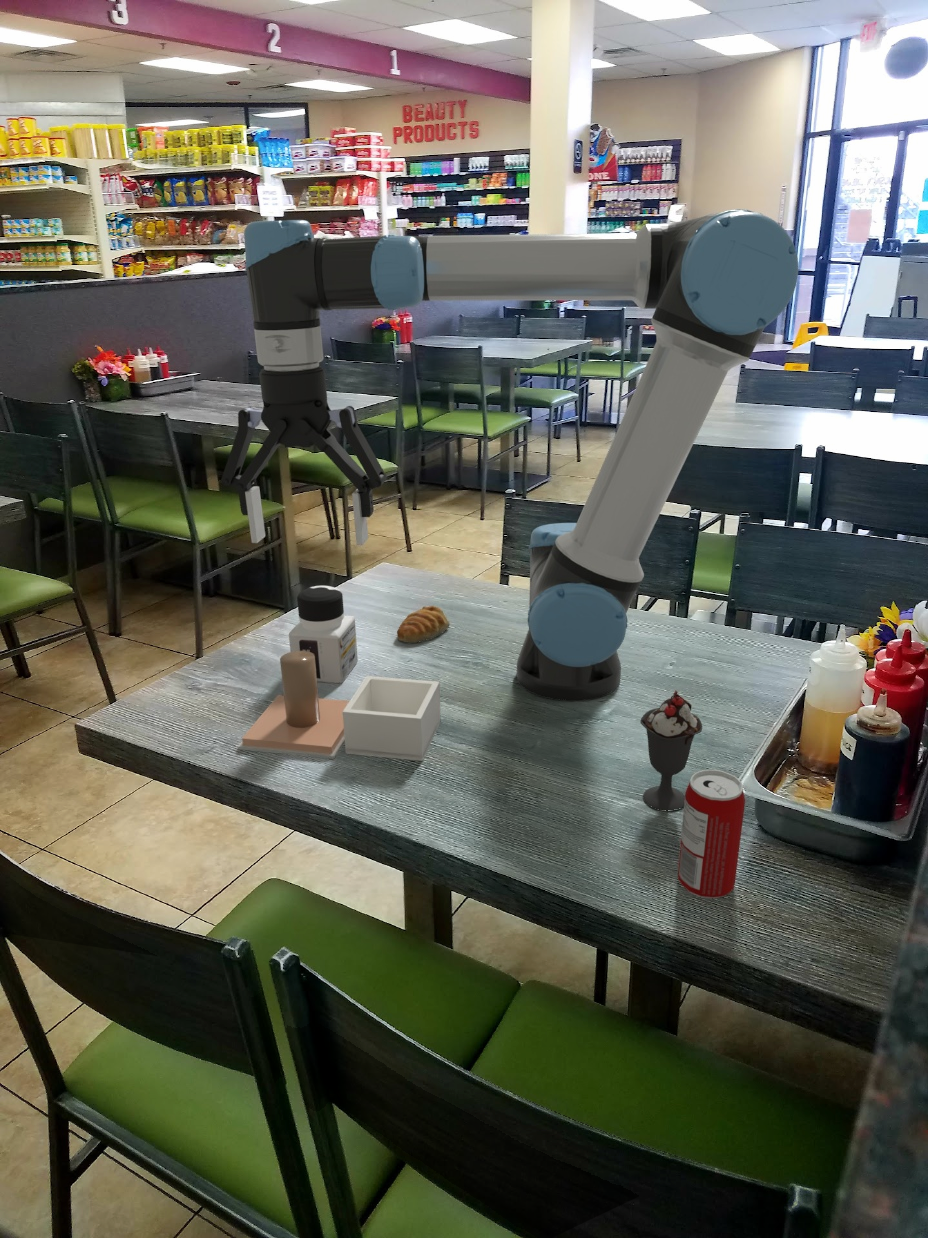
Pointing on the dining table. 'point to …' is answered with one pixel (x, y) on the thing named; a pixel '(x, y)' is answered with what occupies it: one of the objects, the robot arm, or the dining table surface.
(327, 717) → the lid
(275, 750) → the mat
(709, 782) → the soda can
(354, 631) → the container
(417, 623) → the pastry
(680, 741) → the sundae
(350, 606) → the dining table surface
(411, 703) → the white open box
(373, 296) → the robot arm
